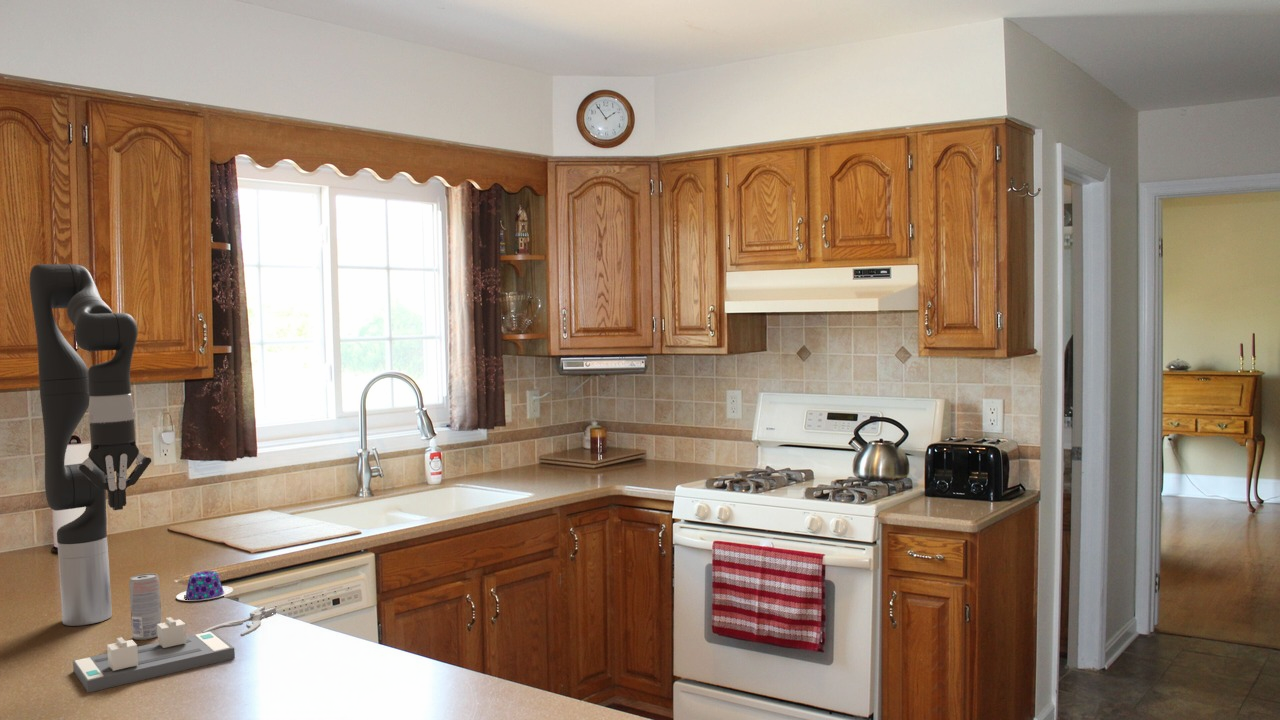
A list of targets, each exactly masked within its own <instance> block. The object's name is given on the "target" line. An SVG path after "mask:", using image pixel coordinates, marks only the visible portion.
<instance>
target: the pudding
mask: <svg viewBox="0 0 1280 720" xmlns="http://www.w3.org/2000/svg"><path fill="white" fill-rule="evenodd" d="M233 591H234V588H233V587H231V586H226V585H222V582H221V579H220V576H219V574H218V572H217V571H213V570H207V571H205V570H204V571H203V570H202V571H198V572H194V573H193V574H191V575H190V576H189V577H188V582H187V587H186V590H185V591H181V592H180V593H178V594H177V595H176V596H175V598H176V599H177V600H179V601H184V602H185V601H186V602H195V601H196V602H197V601H206V600H207V601H208V600H213V599H217V598H221V597H223V596H226V595H229V594H230V593H232V592H233ZM184 595H186V598H185V599H187V600H185V599H184ZM188 599H189V600H188Z"/></svg>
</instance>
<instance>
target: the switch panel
mask: <svg viewBox="0 0 1280 720" xmlns="http://www.w3.org/2000/svg"><path fill="white" fill-rule="evenodd" d="M186 642H187V643H184V644H180V645H175V646H170V647H166V648H163V647H162V646H161V645H160V644H159V643H158V641H157V642H153V643H149V644H144V645H139V646H138V645H137V652H138V665H137V666H132V667H128V668H123V669H119V670H114V671H113V670H112V669H111V668H110V666H109V665H108V652H106V653H102V654H97V655H94V656H88V657H82V658H78V659H74V660H72V668H73V673H74V674H75V676H76V677H77V678H78V680H79V682H80V683H81V684H82V686H83V687H84V689H85V691H86V692H87V693H88V694H89V693H93V692H96V691H101V690H104V689H105V690H106V689H109V688H113V687H118V686H123V685H127V684H131V683H135V682H140V681H144V680H148V679H153V678H157V677H161V676H165V675H170V674H174V673H178V672H184V671H187V670H191V669H197V668H201V667H204V666H208V665H209V666H210V665H212V664H218V663H222V662H226V661H229V660H234V658H236V655H235V653H236V652H235V647H234V646H233V645H232V644H230V643H229V642H228V641H226V640H225V639H224V638H223V637H222V636H220V635H219V634H217V633H216V632H215V631H214V630H212V631H209V632H204V633H202V632H200V633H196V634H192V635H191V634H190V635H186Z"/></svg>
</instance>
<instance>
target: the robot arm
mask: <svg viewBox="0 0 1280 720" xmlns="http://www.w3.org/2000/svg"><path fill="white" fill-rule="evenodd" d="M29 291H30V299H31V300H30V301H31V305H32V313H33V318H34V319H33V320H34V327H35V333H36V334H35V335H36V344H37V361H38V363H37V364H38V381H39V383H38V384H39V385H38V386H39V395H40V396H39V397H40V405H41V407H40V408H41V414H42V422H43V423H42V425H43V432H44V433H43V436H44V489H45V497H46V502H47V504H48V506H49V508H50V509H51V510H53V511H64V510H72V509H80V508H85V509H84V511H83V512H82V514H81V515H80V516H78V517H77V518H75V519H74V520H72V521H70V522H68V523H66V524H64V525H62V526H60V527H59V528H58V529H57V530H56V531H57V532H56V541H57V556H58V570H59V584H60V585H59V587H60V601H61V616H62V617H61V618H62V619H61V620H62V624H63V625H64V626H70V627H72V626H73V627H74V626H76V627H77V626H87V625H91V624H96V623H100V622H103V621H106V620H108V619H110V618H112V617H113V612H112V611H113V610H112V609H113V608H112V590H111V577H110V575H111V574H110V561H109V548H108V547H109V546H108V545H109V544H108V530H107V527H108V526H107V524H108V523H107V519H108V518H107V504H108V506H109V507H110V508H112V510H113V511H120V510H123V509H124V507H125V506H126V505H127V491H126V490H127V488H128V487H131V486H134V485H136V483H137V482H138V481H139V479H140V477H142V475H143V474H144V473H145V471H146V469H147V468H148V466H149V465H151V463H152V458H151V457H148V456H145V455H143V454H142V453H140V449H139V447H138V445H137V443H136V431H135V429H136V427H135V410H134V403H133V397H132V387H131V386H132V385H131V367H132V366H131V365H132V360H133V356H134V349H135V347H136V343H137V340H138V333H139V332H138V331H139V330H138V324H137V321H136V319H135V318H134V317H133V316H132V315H131V314H129V313H125V312H113V310H112V309H111V308H110V306H109V305H108V304H107V303H106V302H105V301H104V300H103V299H102V297H101V295H100V293H99V290H98V287H97V285H96V283H95V280H94V279H93V276H92V275H91V272H89V270H88V269H87V268H86V267H85V266H83V265H80V264H72V263H71V264H69V263H68V264H60V263H56V264H53V263H50V264H49V263H48V264H46V263H43V264H41V263H40V264H36V265H34V266H33V267H32V268H31V270H30V274H29ZM53 309H66V314H67V317H68V319H69V321H70V322H71V324H72V325H74V340H75V342H76V344H77V346H78V347H79V348H81V349H82V350H83V351H87V352H106V351H115V353H114V355H113V357H112V358H111V359H110V360H108V361H104V362H101V363H97V364H93V365H91V366H90V367H89V368H88V365H87V364H86V362H85V360H83V359H82V357H81V356H80V354H79V353H78V352H77V351H76V350H75V349H74V348H73V346H72V345H71V344H70V343H69V342H68V340H67V339H66V338H65V337H64V335H63V333H62V331H61V330H60V328H59V326H58V325H57V322H56V320H55V316H54V313H53ZM87 410H88V419H89V434H90V435H89V436H90V437H89V438H90V450H89V452H88V454H87V455H88V457H87V458H86V459H85V460H84V461H83V462H82V463H74V464H73V463H72V464H67V465H66V464H65V459H66V452H67V448H68V445H69V443H70V441H71V438H72V435H73V434H74V432H75V430H76V428H77V427H78V426H79V424H80V423H81V420H82V419H83V418H84V416H85V414H86V412H87ZM134 462H135V464H136V466H135V467H134V469H133V470H132V471H131V473H130V474H129V475H128V477H127V473H128V470H129V469H130V468H131V467H132V465H133V463H134ZM107 502H108V503H107Z"/></svg>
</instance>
